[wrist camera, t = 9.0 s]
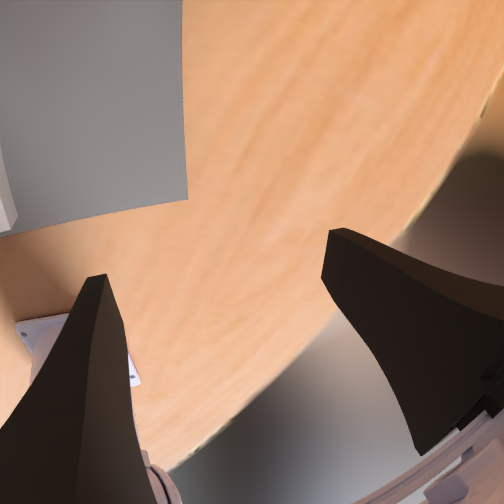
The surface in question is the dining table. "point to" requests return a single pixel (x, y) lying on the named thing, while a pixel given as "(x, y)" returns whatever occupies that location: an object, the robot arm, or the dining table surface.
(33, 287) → the dining table surface
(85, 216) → the grey ridged board
